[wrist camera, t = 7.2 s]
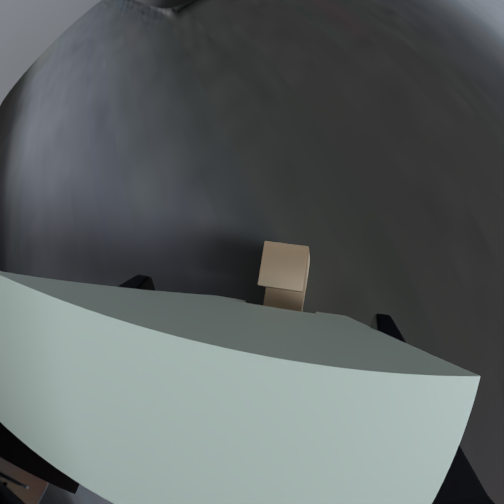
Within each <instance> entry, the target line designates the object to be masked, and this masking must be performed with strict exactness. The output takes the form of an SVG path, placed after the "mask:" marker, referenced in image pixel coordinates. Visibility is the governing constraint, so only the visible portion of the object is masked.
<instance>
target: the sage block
mask: <svg viewBox="0 0 504 504" xmlns="http://www.w3.org/2000/svg"><path fill="white" fill-rule="evenodd" d="M245 302H246V301H245V300H240V299H234V298H228V297H223V296H217V295H203V294H190V293H177V292H166V291H154V290H143V289H134V288H124V287H114V286H105V285H96V284H88V283H79V282H71V281H64V280H56V279H49V278H41V277H34V276H27V275H21V274H14V273H8V272H2V271H0V422H1V423H2V424H3V425H4V426H5V427H6V428H7V429H8V430H9V431H11V432H12V433H13V434H14V435H15V436H16V437H17V438H19V439H20V440H21V441H22V442H23V443H24V444H26V445H27V446H28V447H29V448H30V449H32V450H33V451H34V452H36V453H37V454H38V455H39V456H41V457H42V458H43V459H45V460H46V461H47V462H49V463H50V464H51V465H53V466H54V467H56V468H57V469H58V470H60V471H61V472H63V473H64V474H66V475H67V476H69V477H70V478H72V479H73V480H75V481H76V482H78V483H79V484H81V485H83V486H84V487H86V488H88V489H89V490H91V491H93V492H94V493H96V494H98V495H99V496H101V497H103V498H105V499H107V500H108V501H110V502H112V503H114V504H432V503H433V501H434V499H435V497H436V495H437V493H438V491H439V489H440V487H441V485H442V483H443V481H444V479H445V477H446V474H447V472H448V470H449V468H450V466H451V463H452V461H453V459H454V456H455V454H456V451H457V449H458V446H459V444H460V441H461V438H462V436H463V433H464V430H465V427H466V424H467V421H468V418H469V415H470V412H471V409H472V406H473V402H474V399H475V395H476V392H477V388H478V384H479V380H480V376H479V375H477V374H474V373H472V372H470V371H467V370H465V369H463V368H460V367H458V366H456V365H454V364H451V363H449V362H447V361H445V360H442V359H440V358H438V357H435V356H433V355H431V354H429V353H426V352H424V351H422V350H420V349H418V348H415V347H413V346H411V345H409V344H406V343H404V342H402V341H400V340H398V339H395V338H393V337H391V336H389V335H386V334H384V333H382V332H380V331H377V330H375V329H373V328H371V327H369V326H367V325H365V324H362V323H360V322H358V321H356V320H354V319H352V318H349V317H347V316H343V315H336V314H328V313H321V312H316V314H313V313H306V312H300V311H293V310H287V309H280V308H274V307H268V306H262V305H256V304H250V303H245Z"/></svg>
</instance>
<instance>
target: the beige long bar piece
mask: <svg viewBox="0 0 504 504" xmlns="http://www.w3.org/2000/svg"><path fill="white" fill-rule="evenodd" d="M309 264H310V255H309V247H308V246H300V245H293V244H285V243H277V242H270V241H265V242H264V248H263V255H262V261H261V267H260V273H259V280H258V285H260V286H264V287H266V291H265V297H264V303H263V306H268V307H274V308H280V309H287V310H293V311H300V312H302V310H303V304H304V297H305V291H306V284H307V278H308V271H309Z"/></svg>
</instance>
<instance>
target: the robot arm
mask: <svg viewBox="0 0 504 504" xmlns="http://www.w3.org/2000/svg"><path fill="white" fill-rule="evenodd" d="M118 287H124V288H134V289H143V290H154V291H155V288H154V285H153V282H152V279H151V278H150V277H149V276H144V275H137V276H135V277H133V278H131V279H130V280H128V281H126V282H124V283H123V284H121V285H119V286H118ZM370 327H371V328H373V329H375V330H377V331H380V332H382V333H384V334H386V335H389V336H391V337H393V338H395V339H398V340H400V341H402V342H404V343H406V342H405V340H404V338H403V337H402V335H401V333H400V331H399V330H398V328H397V326H396V325H395V323H394V321H393V320H392V318H391V317H390V316H389V315H385V314H376V315H375V316H374V318H373V321H372V323H371V326H370ZM49 483H50V484H53V485H55V486H57V487H59V488H62V489H64V490H66V491H69V492H71V493H74V494H75V493H76V491H77V489H78V486H79V483H78V482H76V481H75V480H73V479H72V478H70V477H69V476H67V475H66V474H64V473H63V472H61V471H60V470H58V469H57V468H56V467H54V466H53V465H51V464H50V463H49V462H47V461H46V460H45V459H43V458H42V457H41V456H39V455H38V454H37V453H36V452H34V451H33V450H32V449H30V448H29V447H28V446H27V445H26V444H24V443H23V442H22V441H21V440H20V439H19V438H17V437H16V436H15V435H14V434H13V433H12V432H11V431H9V430H8V429H7V428H6V427H5V426H4V425H3V424H2V423H1V422H0V504H39V503H40V501H41V498H42V496H43V494H44V492H45V490H46V488H47V486H48V484H49ZM432 504H495V503H494V502H493V501H492V500H491V499H490V498H489V496H488V495H487V493H486V492H485V490H484V488H483V487H482V485H481V483H480V481H479V479H478V478H477V476H476V474H475V472H474V470H473V469H472V467H471V465H470V463H469V462H468V460H467V458H466V456H465V455H464V453H463V451H462V449H461V447H460V446H458V449H457V451H456V454H455V456H454V459H453V461H452V463H451V466H450V468H449V470H448V472H447V474H446V477H445V479H444V481H443V483H442V485H441V487H440V489H439V491H438V493H437V495H436V497H435V499H434V501H433V503H432Z"/></svg>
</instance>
